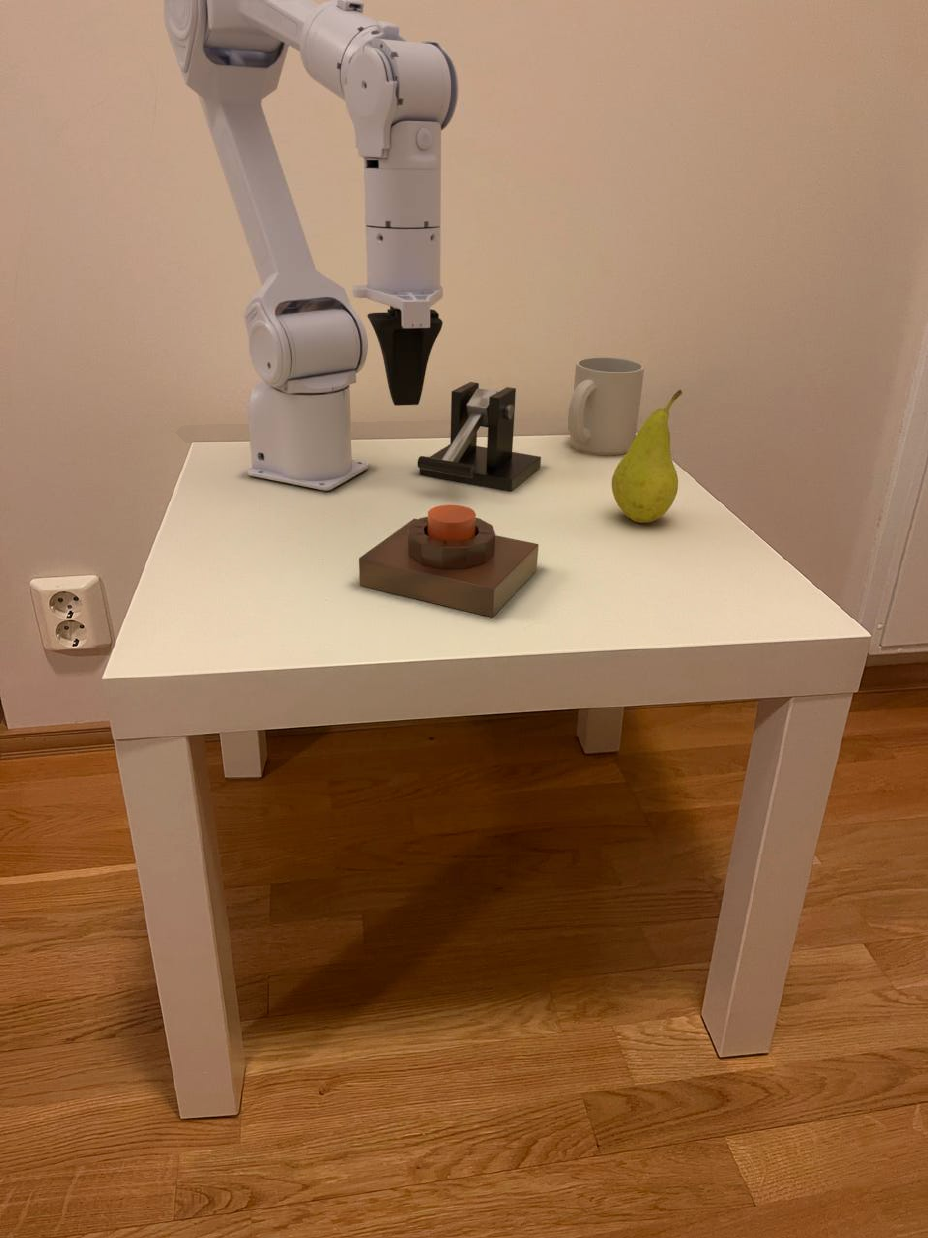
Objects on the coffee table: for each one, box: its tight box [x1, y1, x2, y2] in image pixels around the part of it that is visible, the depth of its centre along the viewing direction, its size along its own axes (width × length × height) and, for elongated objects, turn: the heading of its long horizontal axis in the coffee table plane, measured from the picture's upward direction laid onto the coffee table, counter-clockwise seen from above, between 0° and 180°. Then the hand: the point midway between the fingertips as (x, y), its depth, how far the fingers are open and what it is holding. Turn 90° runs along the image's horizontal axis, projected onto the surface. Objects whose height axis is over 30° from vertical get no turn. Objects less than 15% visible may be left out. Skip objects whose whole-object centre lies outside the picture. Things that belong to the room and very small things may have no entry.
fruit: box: [611, 389, 683, 524], centre depth 79 cm, size 6×6×12 cm
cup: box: [567, 356, 645, 456], centre depth 98 cm, size 7×10×9 cm
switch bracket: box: [419, 381, 542, 492], centre depth 91 cm, size 8×10×8 cm
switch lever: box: [416, 387, 498, 478], centre depth 87 cm, size 11×6×2 cm, turn 156°
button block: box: [358, 516, 540, 618], centre depth 69 cm, size 11×9×4 cm
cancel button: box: [427, 504, 477, 541], centre depth 68 cm, size 4×4×2 cm
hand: (405, 403), depth 76 cm, fingers closed
